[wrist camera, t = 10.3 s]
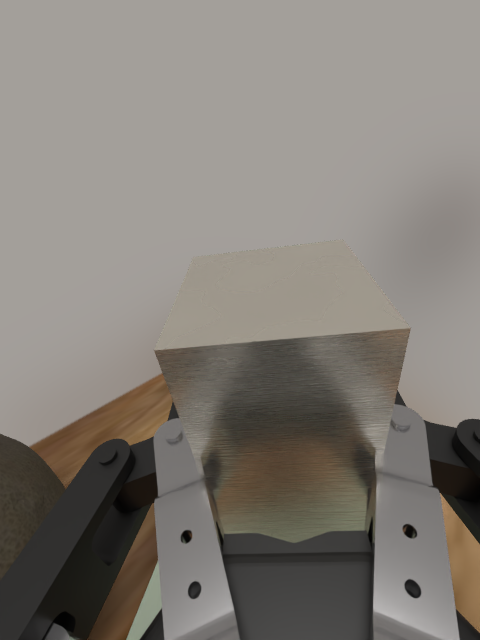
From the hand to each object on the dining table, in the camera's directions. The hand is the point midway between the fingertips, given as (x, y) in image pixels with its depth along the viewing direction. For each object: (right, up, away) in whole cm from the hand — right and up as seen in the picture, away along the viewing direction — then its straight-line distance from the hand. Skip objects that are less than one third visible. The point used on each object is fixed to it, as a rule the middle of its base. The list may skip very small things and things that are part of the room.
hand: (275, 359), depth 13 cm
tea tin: (+1, -7, +2) cm, 7 cm away
